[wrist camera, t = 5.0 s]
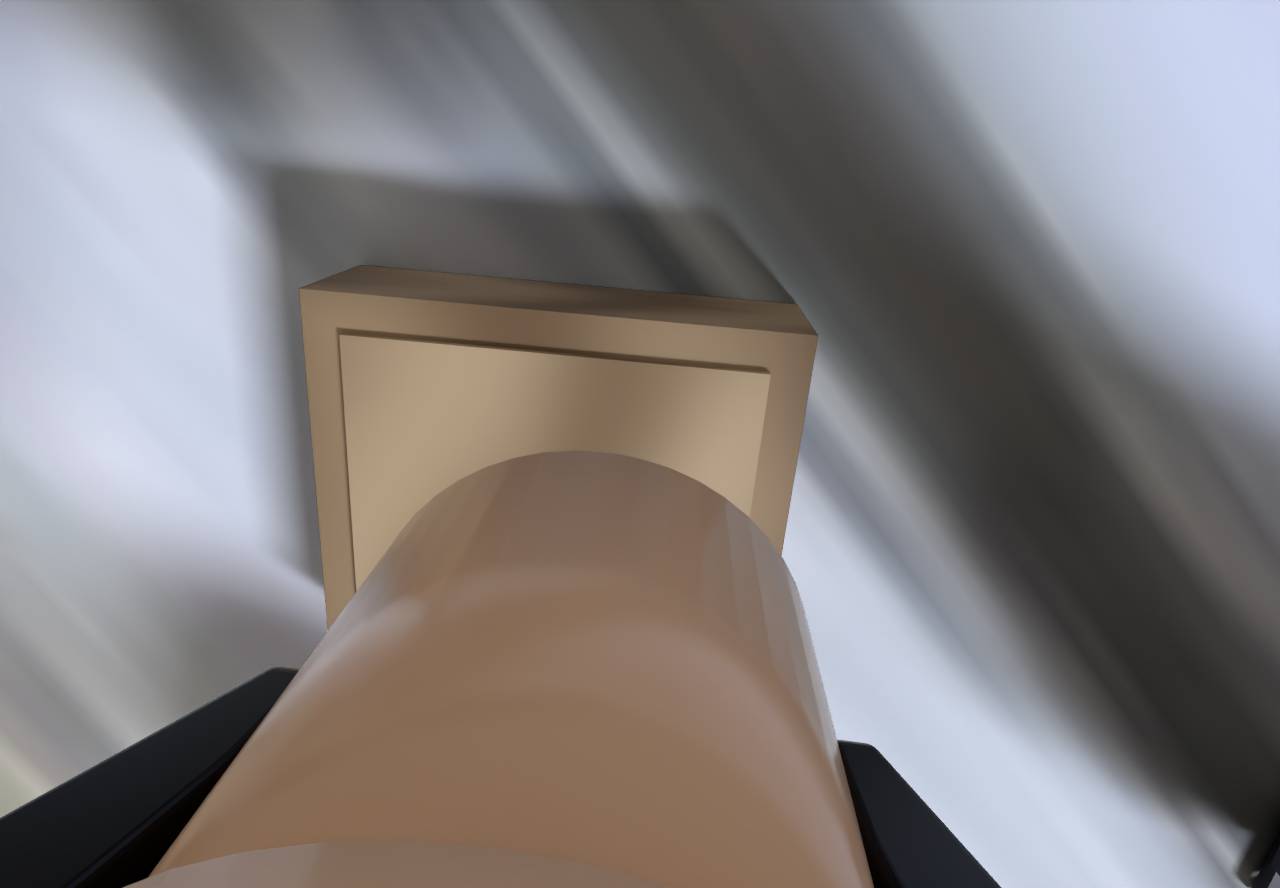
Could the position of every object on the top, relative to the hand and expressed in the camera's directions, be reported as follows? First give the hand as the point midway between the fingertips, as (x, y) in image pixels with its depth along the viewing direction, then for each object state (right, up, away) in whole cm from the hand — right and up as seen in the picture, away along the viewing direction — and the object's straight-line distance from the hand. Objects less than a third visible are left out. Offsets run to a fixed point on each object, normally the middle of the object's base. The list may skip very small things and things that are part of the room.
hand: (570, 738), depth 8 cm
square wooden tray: (-1, +2, +12) cm, 12 cm away
